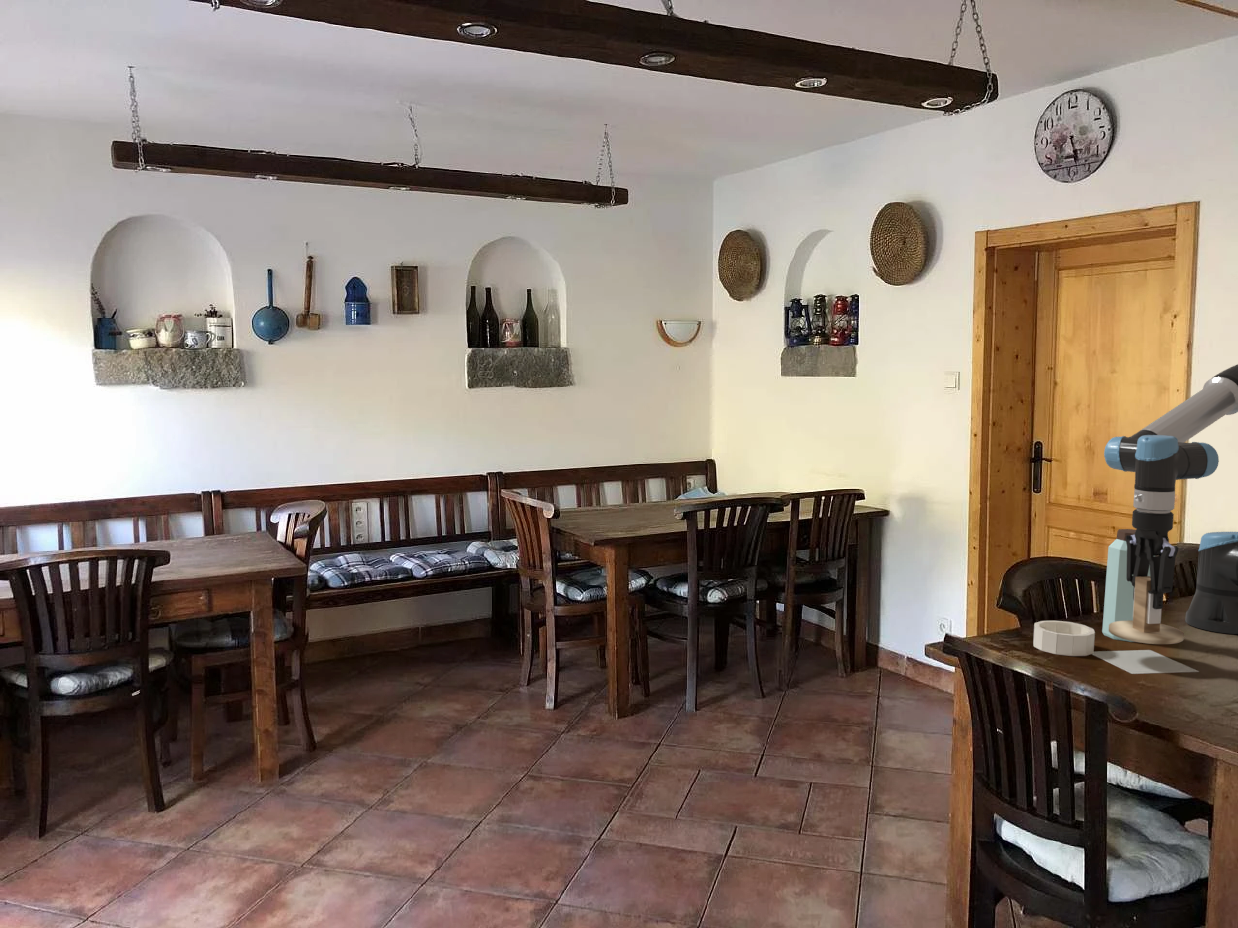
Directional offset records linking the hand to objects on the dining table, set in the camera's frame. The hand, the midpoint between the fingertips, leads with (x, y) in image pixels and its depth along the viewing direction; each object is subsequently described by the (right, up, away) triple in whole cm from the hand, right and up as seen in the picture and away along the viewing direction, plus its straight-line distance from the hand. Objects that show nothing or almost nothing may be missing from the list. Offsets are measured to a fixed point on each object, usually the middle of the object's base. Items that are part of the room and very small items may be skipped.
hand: (1146, 620), depth 211 cm
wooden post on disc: (0, -3, 0) cm, 3 cm away
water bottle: (+6, -8, +20) cm, 22 cm away
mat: (-1, -9, +1) cm, 9 cm away
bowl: (-13, -8, +10) cm, 18 cm away
